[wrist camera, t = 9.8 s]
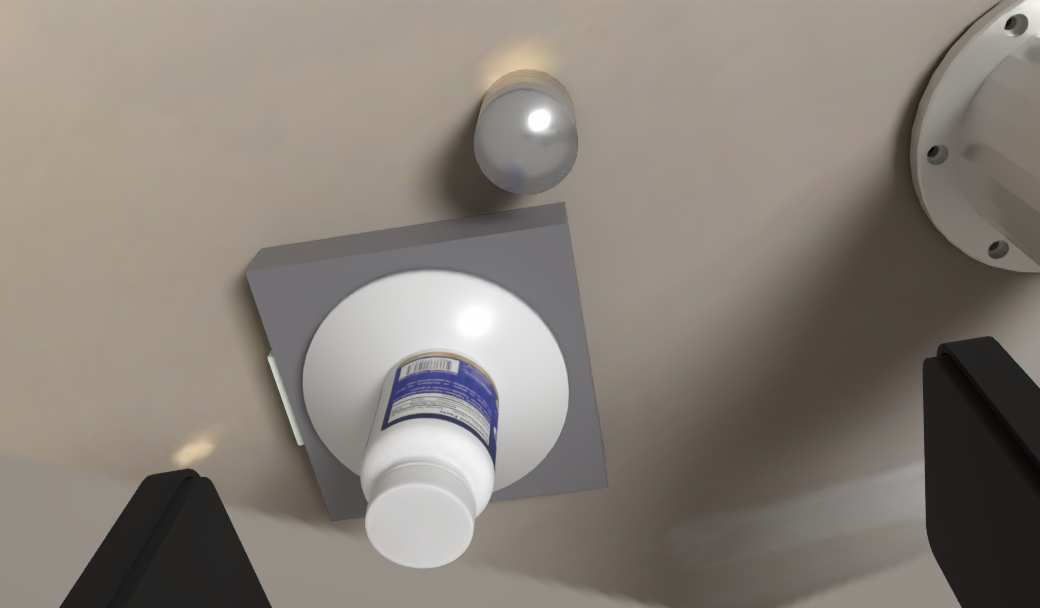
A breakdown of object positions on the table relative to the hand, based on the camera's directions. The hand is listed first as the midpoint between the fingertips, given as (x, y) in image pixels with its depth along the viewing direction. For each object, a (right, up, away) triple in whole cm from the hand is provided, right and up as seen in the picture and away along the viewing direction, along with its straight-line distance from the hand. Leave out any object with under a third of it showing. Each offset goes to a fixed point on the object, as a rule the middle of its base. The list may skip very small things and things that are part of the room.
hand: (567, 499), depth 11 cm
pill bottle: (-4, -1, +28) cm, 29 cm away
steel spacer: (0, +10, +26) cm, 28 cm away
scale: (-4, 0, +31) cm, 32 cm away
